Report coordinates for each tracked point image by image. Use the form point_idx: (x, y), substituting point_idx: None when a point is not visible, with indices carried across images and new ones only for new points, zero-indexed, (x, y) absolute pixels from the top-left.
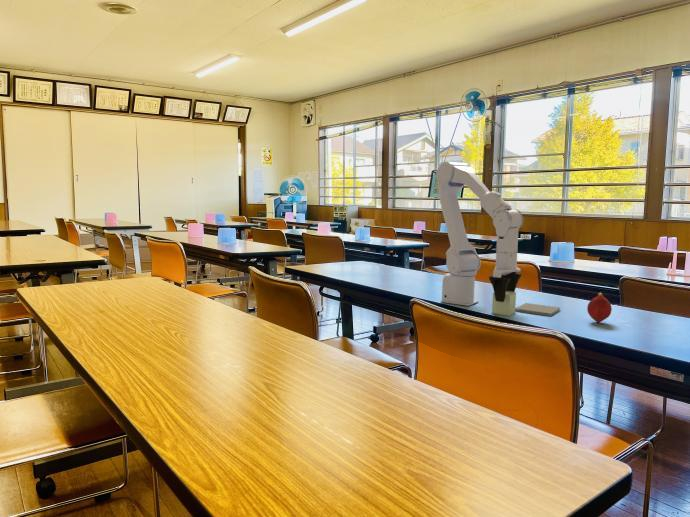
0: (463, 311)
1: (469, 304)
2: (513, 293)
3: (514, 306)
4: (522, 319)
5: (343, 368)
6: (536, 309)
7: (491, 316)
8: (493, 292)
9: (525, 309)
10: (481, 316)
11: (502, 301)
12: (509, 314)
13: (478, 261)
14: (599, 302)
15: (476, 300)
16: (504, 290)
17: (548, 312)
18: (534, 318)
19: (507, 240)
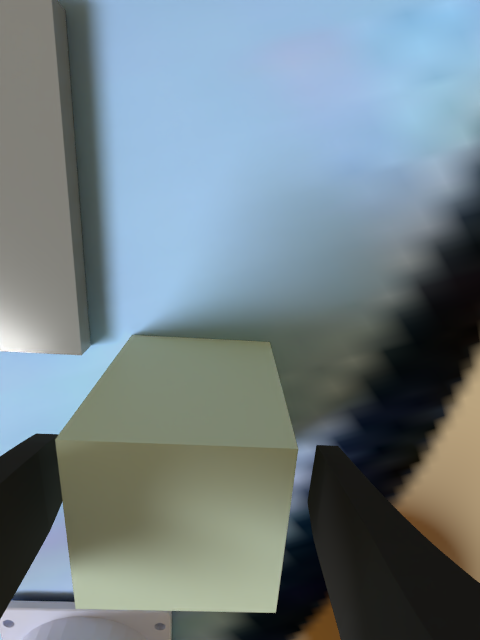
0: (320, 581)
1: (159, 611)
2: (169, 443)
3: (142, 358)
4: (347, 221)
5: None
6: None
7: (368, 427)
8: (264, 610)
9: (55, 273)
10: (401, 473)
11: (342, 453)
12: (265, 344)
13: None
14: None
15: (8, 618)
16: (436, 547)
17: (18, 32)
18: (252, 139)
19: None
